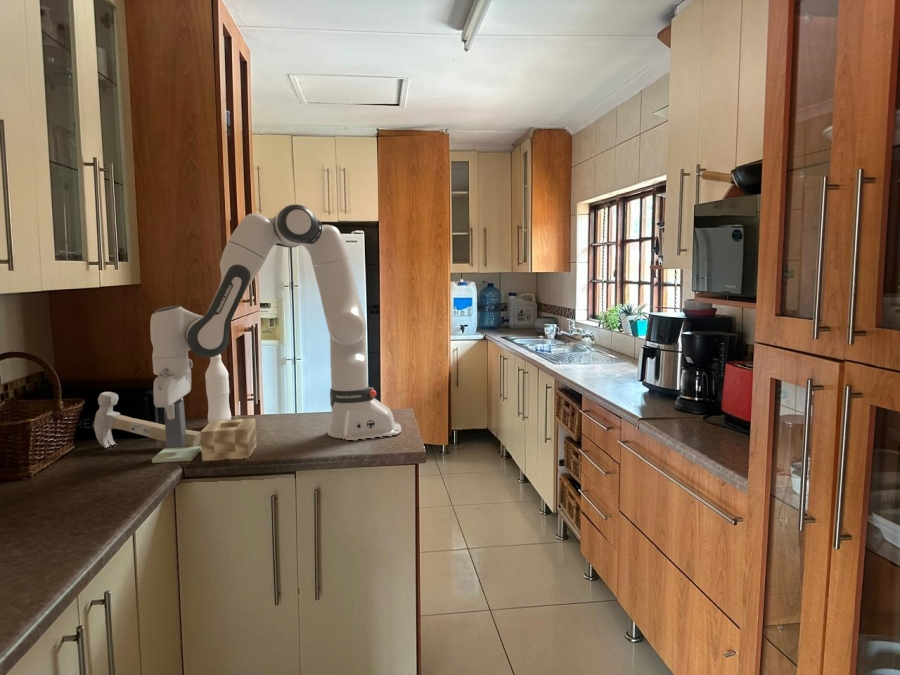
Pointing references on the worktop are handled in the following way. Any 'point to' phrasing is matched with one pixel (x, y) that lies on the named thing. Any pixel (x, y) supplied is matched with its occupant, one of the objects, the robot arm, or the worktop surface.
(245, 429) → the socket block
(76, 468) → the worktop surface
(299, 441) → the worktop surface
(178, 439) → the peg
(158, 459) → the pad
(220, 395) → the water bottle
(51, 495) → the worktop surface
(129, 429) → the hammer
